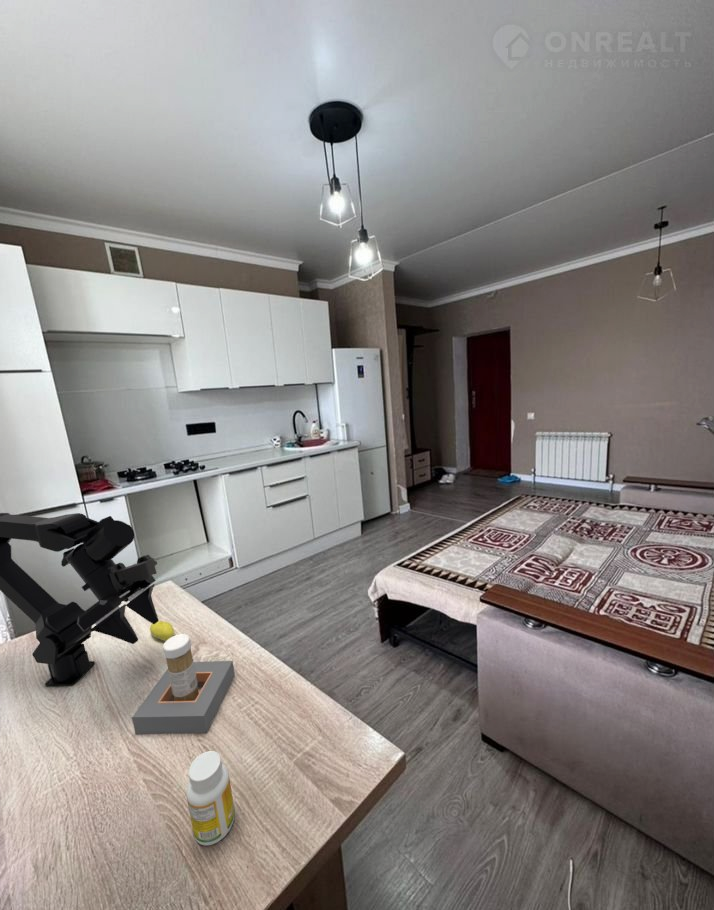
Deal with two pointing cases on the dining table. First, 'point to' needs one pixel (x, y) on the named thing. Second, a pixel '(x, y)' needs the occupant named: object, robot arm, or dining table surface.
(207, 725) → the collar block
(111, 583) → the robot arm
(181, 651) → the sprinkles bottle
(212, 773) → the supplement bottle
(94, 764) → the dining table surface
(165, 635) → the lemon
